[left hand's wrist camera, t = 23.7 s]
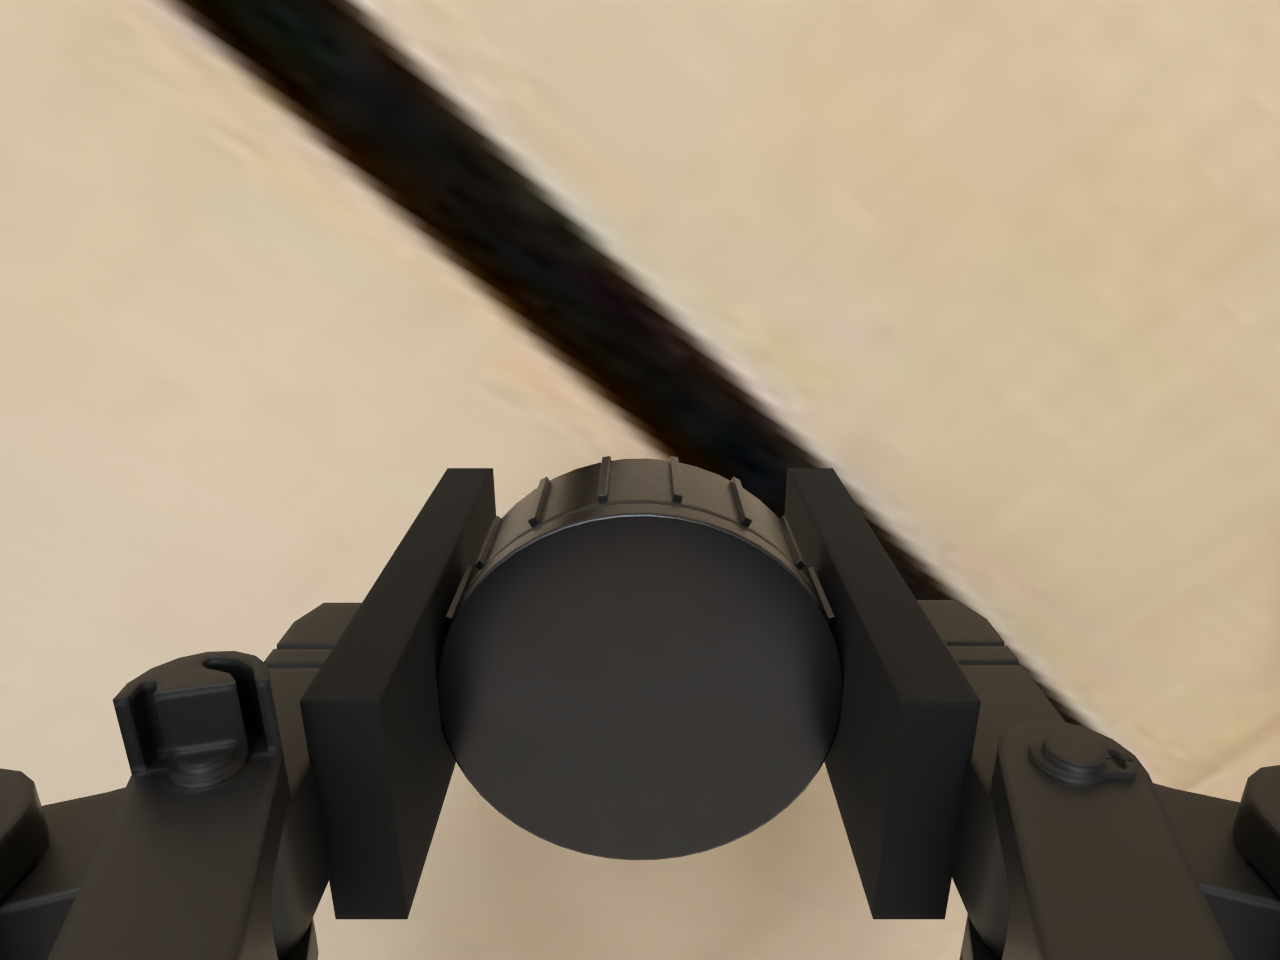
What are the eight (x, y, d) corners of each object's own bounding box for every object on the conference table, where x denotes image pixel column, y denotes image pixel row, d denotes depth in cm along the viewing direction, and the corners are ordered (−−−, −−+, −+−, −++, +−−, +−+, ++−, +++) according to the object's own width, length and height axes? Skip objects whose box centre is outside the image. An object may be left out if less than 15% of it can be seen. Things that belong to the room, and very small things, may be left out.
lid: (401, 524, 12) (355, 592, 10) (758, 400, 11) (783, 447, 9) (541, 803, 13) (525, 906, 11) (859, 709, 13) (896, 801, 11)
